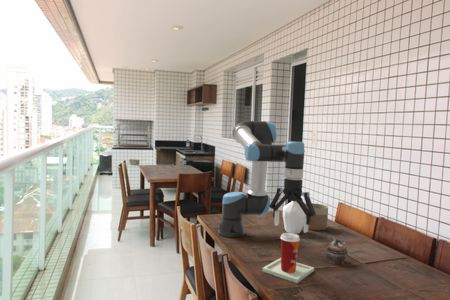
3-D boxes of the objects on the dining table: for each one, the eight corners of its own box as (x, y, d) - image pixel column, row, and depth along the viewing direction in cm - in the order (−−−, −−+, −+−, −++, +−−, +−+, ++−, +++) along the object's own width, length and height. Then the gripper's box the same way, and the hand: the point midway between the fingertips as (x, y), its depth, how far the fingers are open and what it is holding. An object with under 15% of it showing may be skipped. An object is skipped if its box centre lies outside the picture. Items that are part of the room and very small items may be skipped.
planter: (329, 227, 217) (331, 205, 216) (322, 232, 203) (324, 210, 202) (305, 222, 225) (307, 202, 224) (297, 227, 212) (298, 206, 211)
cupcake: (327, 256, 165) (328, 235, 164) (348, 260, 160) (349, 239, 160) (323, 262, 156) (324, 241, 156) (345, 267, 152) (346, 245, 151)
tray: (262, 271, 143) (262, 267, 143) (280, 261, 156) (280, 257, 155) (297, 283, 133) (297, 279, 133) (313, 271, 146) (314, 267, 146)
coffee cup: (298, 275, 139) (300, 239, 139) (278, 272, 141) (280, 237, 140) (298, 267, 148) (300, 233, 147) (278, 264, 149) (280, 231, 148)
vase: (291, 236, 193) (294, 192, 192) (276, 229, 206) (279, 188, 205) (310, 233, 200) (313, 191, 199) (295, 227, 213) (297, 187, 211)
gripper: (263, 175, 147) (260, 224, 148) (318, 183, 131) (315, 237, 133) (272, 174, 153) (269, 220, 154) (325, 181, 137) (322, 233, 139)
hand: (290, 228), depth 143 cm, fingers open, 13 cm apart
